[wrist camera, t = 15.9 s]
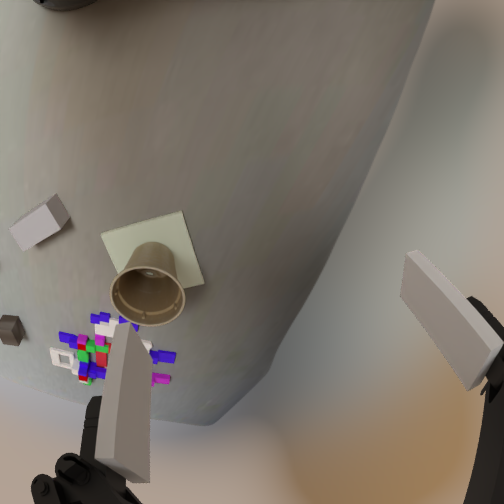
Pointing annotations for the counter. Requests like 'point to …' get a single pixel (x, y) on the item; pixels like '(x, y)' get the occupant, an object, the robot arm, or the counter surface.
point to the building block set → (102, 351)
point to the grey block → (39, 222)
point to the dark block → (11, 330)
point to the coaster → (162, 231)
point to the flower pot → (148, 287)
